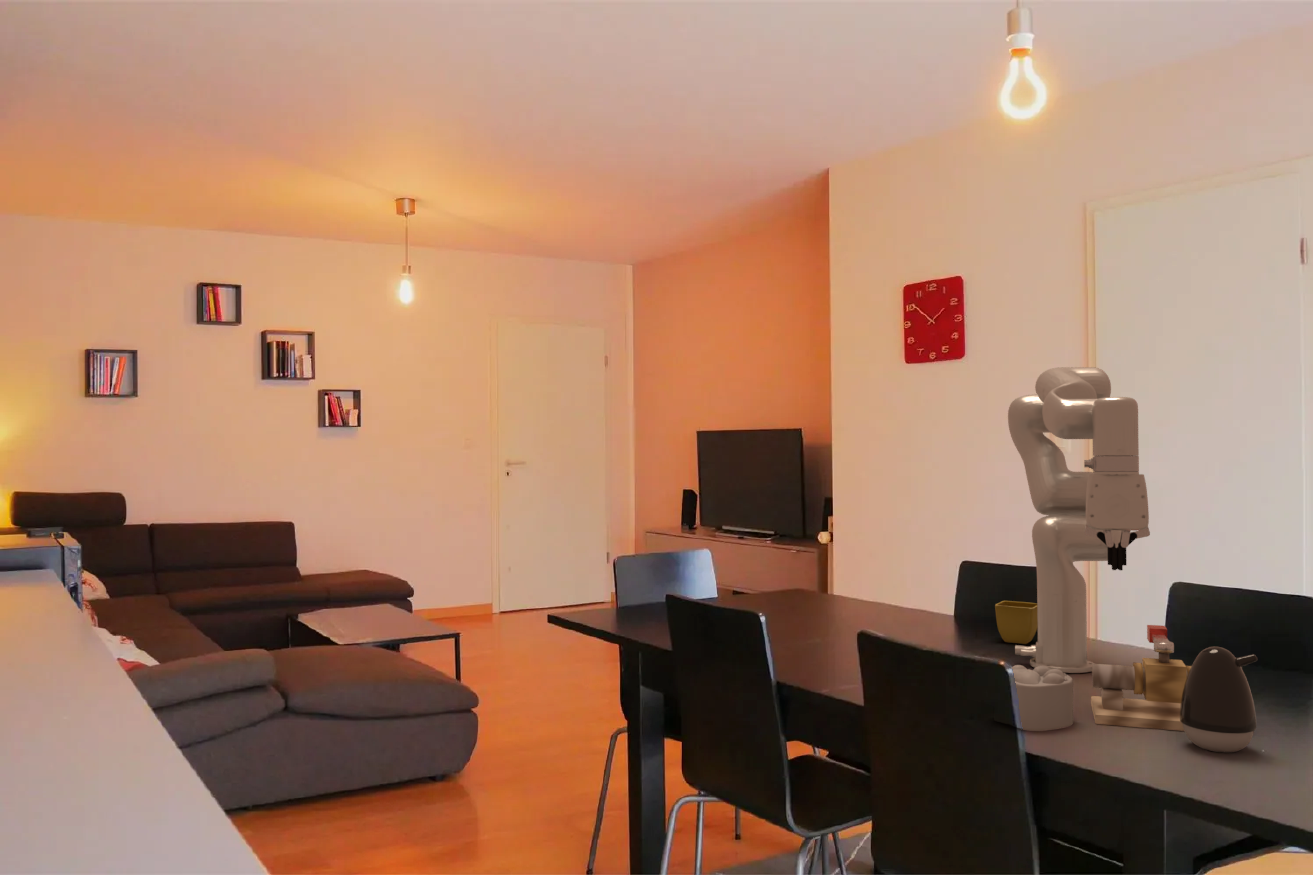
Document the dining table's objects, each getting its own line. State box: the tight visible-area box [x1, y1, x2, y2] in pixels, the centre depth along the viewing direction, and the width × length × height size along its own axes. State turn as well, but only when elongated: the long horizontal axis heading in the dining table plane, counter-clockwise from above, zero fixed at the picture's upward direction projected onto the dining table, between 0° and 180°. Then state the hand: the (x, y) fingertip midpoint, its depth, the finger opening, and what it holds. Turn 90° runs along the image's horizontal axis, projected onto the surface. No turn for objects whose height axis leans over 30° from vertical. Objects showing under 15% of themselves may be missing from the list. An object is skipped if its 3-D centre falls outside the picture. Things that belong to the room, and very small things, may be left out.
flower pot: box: [994, 600, 1038, 645], centre depth 244 cm, size 9×9×9 cm
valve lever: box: [1146, 624, 1175, 654], centre depth 178 cm, size 14×3×2 cm, turn 160°
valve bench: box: [1090, 652, 1192, 732], centre depth 173 cm, size 22×14×11 cm, turn 70°
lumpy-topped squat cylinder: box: [1011, 664, 1074, 732], centre depth 172 cm, size 10×13×9 cm
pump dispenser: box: [1180, 646, 1258, 754], centre depth 156 cm, size 10×10×15 cm
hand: (1117, 569), depth 184 cm, fingers closed
